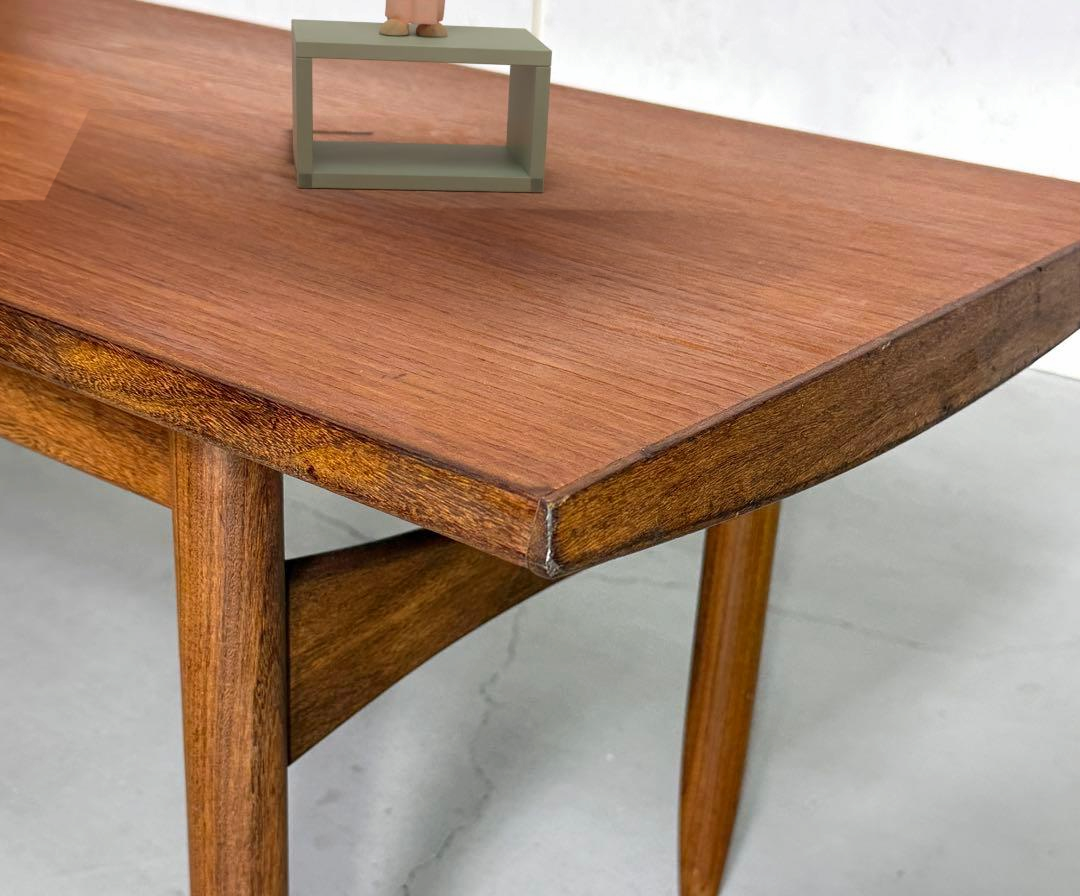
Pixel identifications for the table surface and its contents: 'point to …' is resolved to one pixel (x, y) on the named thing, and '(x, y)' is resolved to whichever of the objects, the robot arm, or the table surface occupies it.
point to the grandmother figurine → (414, 17)
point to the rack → (416, 161)
